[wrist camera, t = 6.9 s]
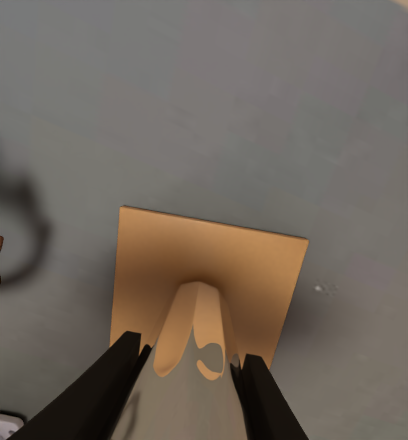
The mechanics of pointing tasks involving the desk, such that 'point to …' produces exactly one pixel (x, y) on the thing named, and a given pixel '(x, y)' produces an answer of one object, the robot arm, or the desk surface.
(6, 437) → the robot arm
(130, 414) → the milkshake
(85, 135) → the desk surface
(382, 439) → the desk surface
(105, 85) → the desk surface
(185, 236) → the coaster
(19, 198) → the desk surface
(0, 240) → the broken clay pot
